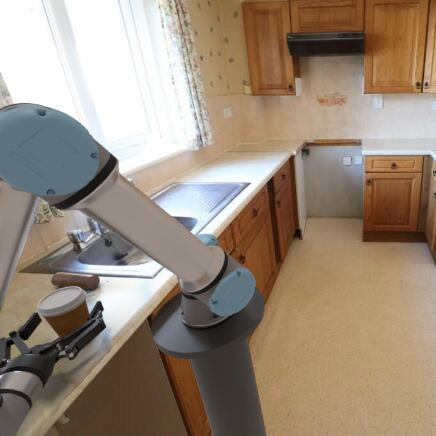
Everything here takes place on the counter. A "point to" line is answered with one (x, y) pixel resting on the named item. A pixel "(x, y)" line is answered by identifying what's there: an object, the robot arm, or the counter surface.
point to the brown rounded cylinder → (75, 280)
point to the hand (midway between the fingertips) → (70, 310)
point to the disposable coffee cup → (64, 309)
